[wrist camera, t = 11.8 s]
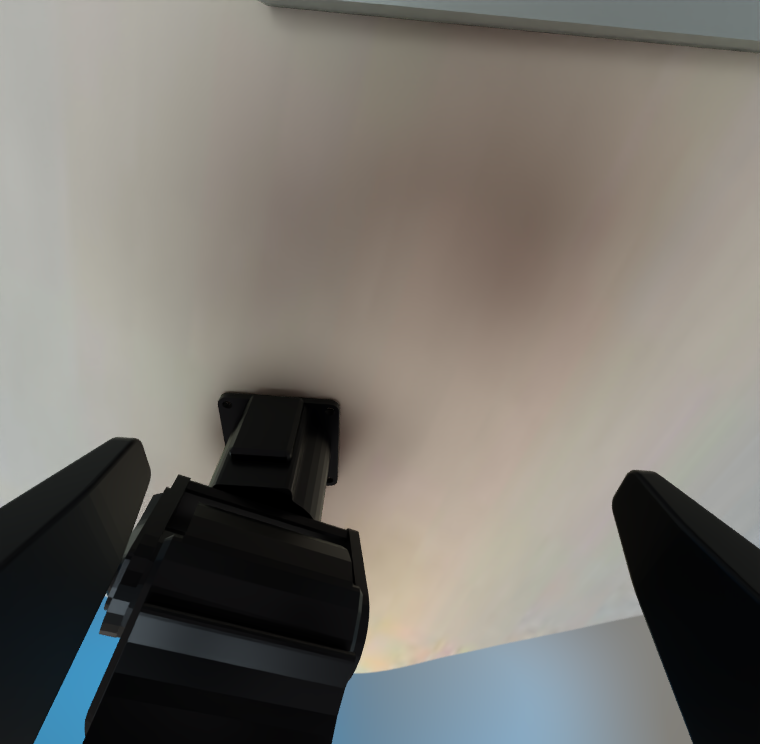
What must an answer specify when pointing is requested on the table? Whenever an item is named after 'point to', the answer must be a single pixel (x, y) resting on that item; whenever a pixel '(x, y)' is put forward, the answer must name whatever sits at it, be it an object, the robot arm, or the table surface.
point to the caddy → (579, 17)
